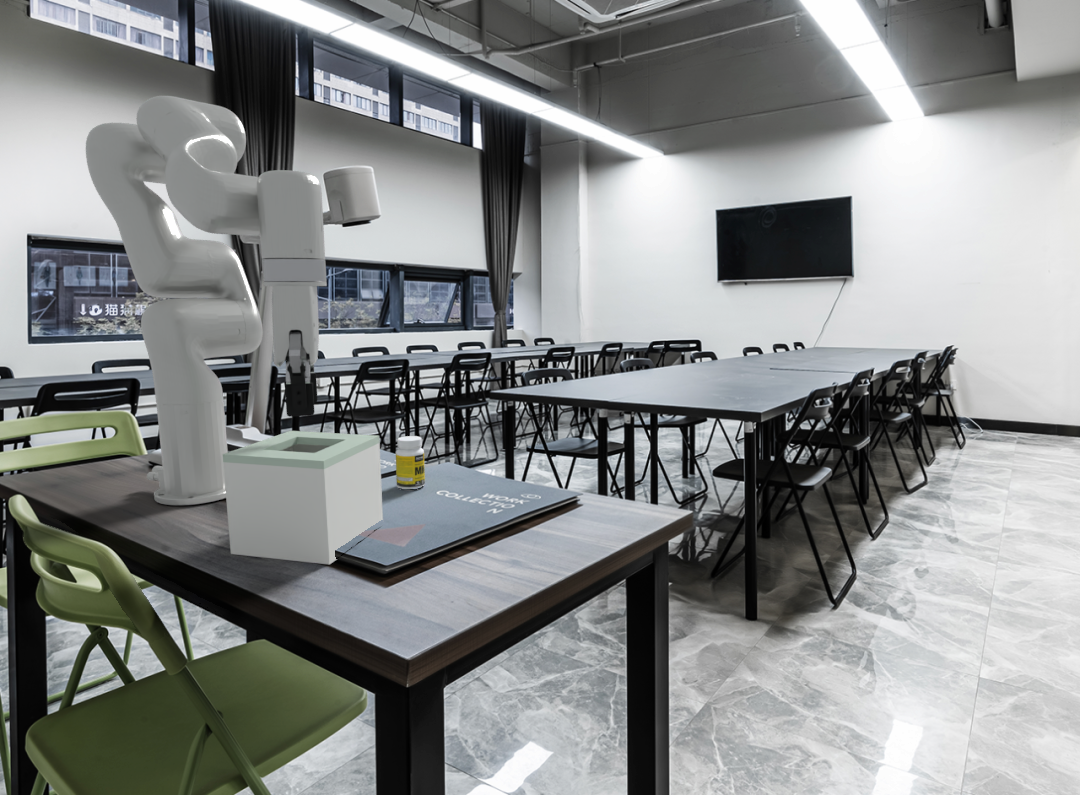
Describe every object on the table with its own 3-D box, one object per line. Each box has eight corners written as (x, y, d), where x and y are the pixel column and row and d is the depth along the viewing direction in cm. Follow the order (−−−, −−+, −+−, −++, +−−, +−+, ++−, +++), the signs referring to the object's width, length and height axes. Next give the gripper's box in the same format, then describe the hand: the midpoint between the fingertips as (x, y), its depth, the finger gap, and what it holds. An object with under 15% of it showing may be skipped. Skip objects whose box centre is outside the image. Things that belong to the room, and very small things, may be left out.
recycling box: (230, 553, 85) (222, 454, 82) (296, 517, 98) (290, 430, 96) (329, 564, 81) (323, 461, 79) (383, 525, 95) (379, 435, 93)
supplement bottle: (418, 491, 110) (417, 442, 109) (392, 490, 111) (390, 440, 110) (429, 483, 115) (427, 435, 113) (403, 482, 116) (401, 434, 114)
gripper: (270, 275, 91) (278, 399, 94) (253, 273, 75) (264, 423, 77) (327, 275, 93) (334, 397, 96) (324, 273, 77) (332, 419, 80)
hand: (303, 408), depth 87 cm, fingers open, 9 cm apart
